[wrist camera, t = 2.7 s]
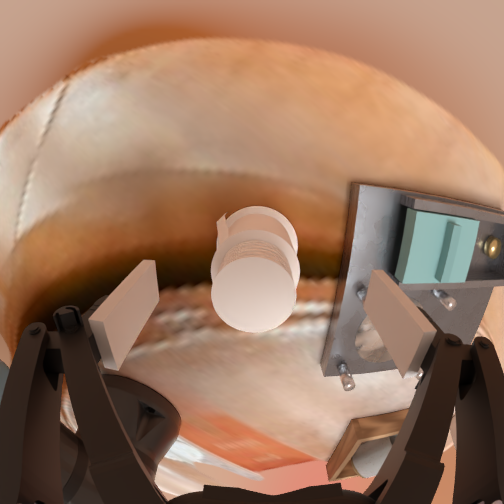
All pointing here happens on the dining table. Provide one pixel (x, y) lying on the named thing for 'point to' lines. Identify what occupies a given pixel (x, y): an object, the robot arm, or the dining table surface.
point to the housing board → (421, 294)
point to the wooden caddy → (357, 434)
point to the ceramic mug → (371, 456)
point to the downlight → (255, 269)
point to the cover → (436, 247)
